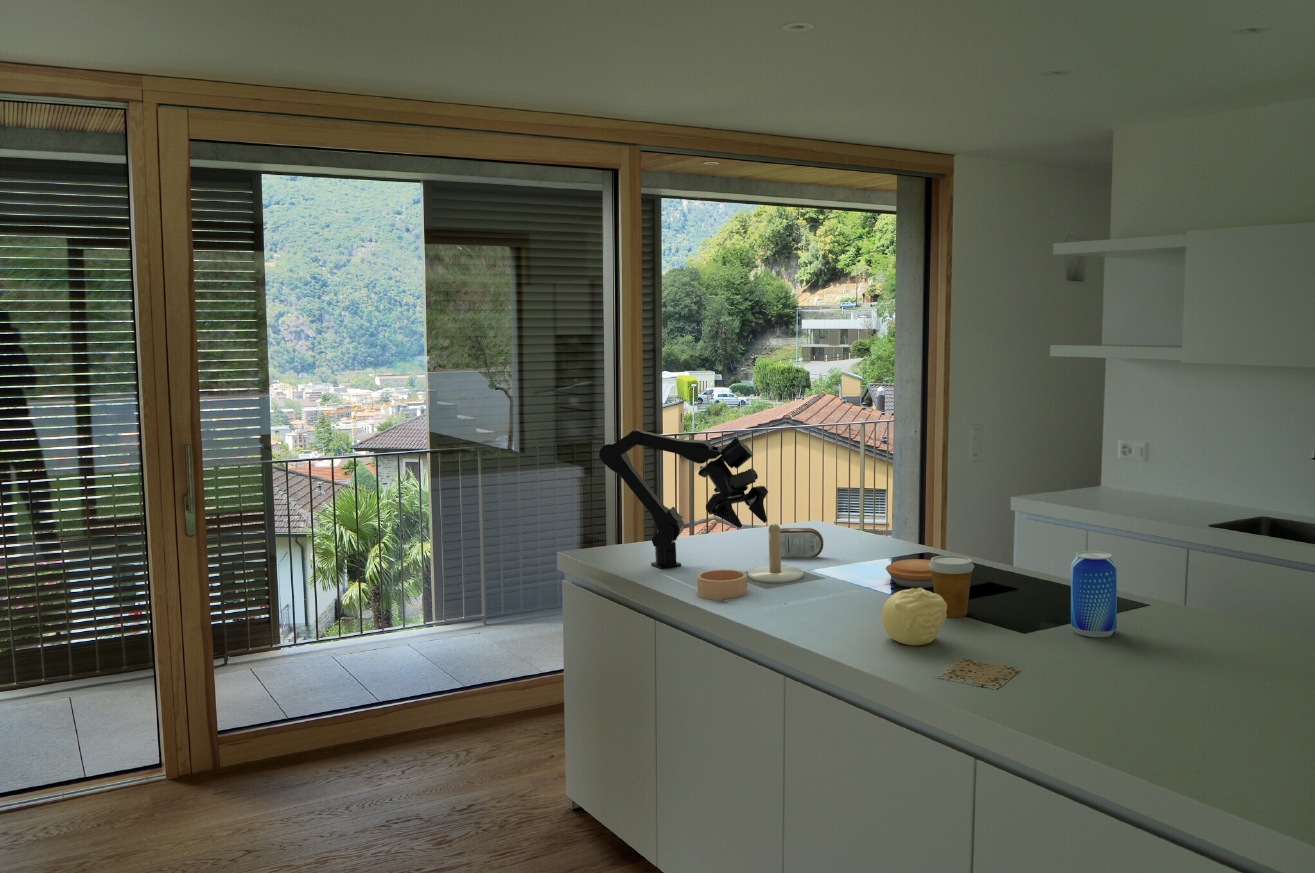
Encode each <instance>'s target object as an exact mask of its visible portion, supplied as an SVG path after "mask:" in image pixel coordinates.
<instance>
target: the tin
mask: <svg viewBox="0 0 1315 873" xmlns="http://www.w3.org/2000/svg"><path fill="white" fill-rule="evenodd" d="M780 538H781V558H817V557H819V555H820V554H821V553H822V551H823V549H824V538H823V536H822V534H821V533H820V532H819V531H818V530H816V529H815V528H812V527H811V528H810V527H800V528H799V527H798V528H797V527H791V528H789V527H788V528H787V527H785V528H784V527H783V528H780Z"/></svg>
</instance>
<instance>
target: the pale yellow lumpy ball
mask: <svg viewBox="0 0 1315 873" xmlns="http://www.w3.org/2000/svg"><path fill="white" fill-rule="evenodd" d="M946 611H947V604H946V602H945V601H944V599H943V598H942V597H941V596H940V595H938V594H935V593H934V592H932V591H929V590H926V589H925V588H909V589H902V590H900V591H896V592H895V593H893V594H892V595H891V596H890V597H889V598H887V600H886V602H885V603H884V605H883V608H882V611H881V612H882V613H881V620H882V626H883V628H884V631H885V633H886V635H887V636H888V637H889V638H891V639H892V640H894V641H896V642H898V643H900V644H904V645H907V646H923V645H928V644H931V643H932V642H933V641H934V640H935V639H936V638H937V637H938V636H939V634H940V631H941V629H942V627H943V624H944V623H945V622H946V621H947V618H948V617H947V614H946Z"/></svg>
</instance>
